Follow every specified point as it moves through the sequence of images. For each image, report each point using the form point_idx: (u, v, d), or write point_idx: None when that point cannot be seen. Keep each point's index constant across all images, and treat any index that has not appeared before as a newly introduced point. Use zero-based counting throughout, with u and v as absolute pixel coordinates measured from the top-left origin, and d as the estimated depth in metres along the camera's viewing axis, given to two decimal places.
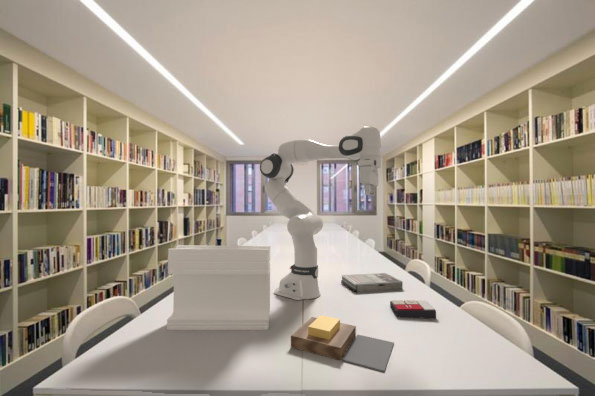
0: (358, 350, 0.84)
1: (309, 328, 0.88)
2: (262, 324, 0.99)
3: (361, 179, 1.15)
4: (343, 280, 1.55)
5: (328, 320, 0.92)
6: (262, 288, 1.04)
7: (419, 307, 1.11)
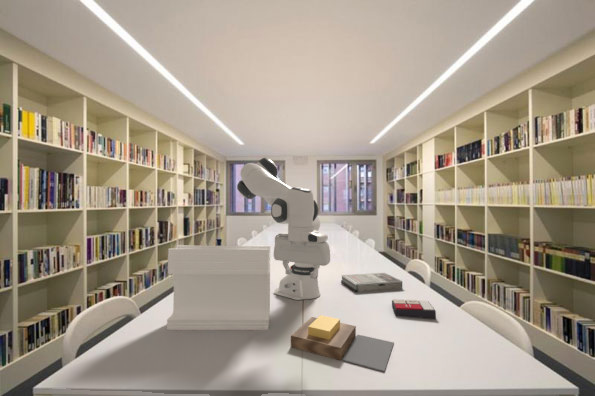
0: (358, 350, 0.84)
1: (309, 328, 0.88)
2: (262, 324, 0.99)
3: (326, 261, 0.90)
4: (343, 280, 1.55)
5: (328, 320, 0.92)
6: (262, 288, 1.04)
7: (419, 307, 1.12)
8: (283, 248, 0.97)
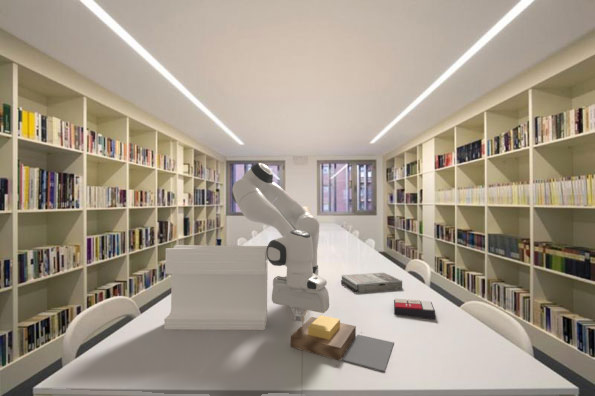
0: (358, 350, 0.84)
1: (309, 328, 0.88)
2: (259, 324, 0.99)
3: (325, 308, 0.89)
4: (343, 280, 1.55)
5: (328, 320, 0.92)
6: (259, 288, 1.04)
7: (418, 306, 1.12)
8: (281, 292, 0.96)
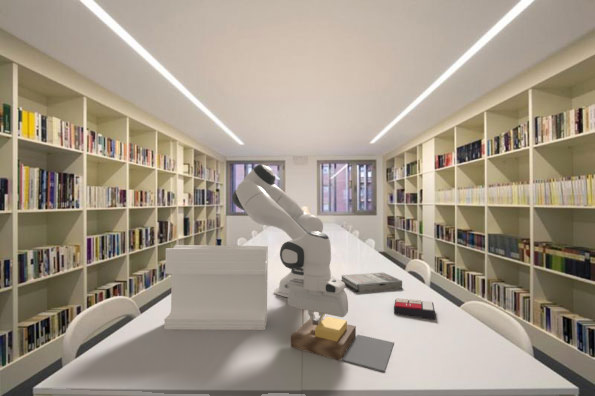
0: (358, 350, 0.84)
1: (316, 329, 0.87)
2: (259, 324, 0.99)
3: (345, 312, 0.86)
4: (343, 280, 1.55)
5: (335, 322, 0.91)
6: (259, 288, 1.04)
7: (418, 306, 1.12)
8: (298, 295, 0.93)
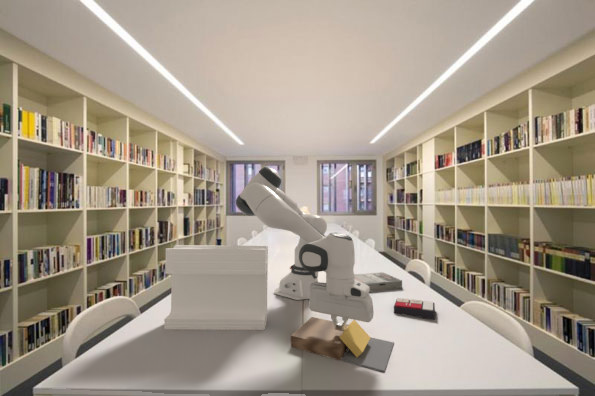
0: None
1: (344, 334, 0.82)
2: (259, 324, 0.99)
3: (371, 317, 0.82)
4: None
5: (361, 333, 0.87)
6: (259, 288, 1.04)
7: (418, 306, 1.12)
8: (320, 299, 0.90)
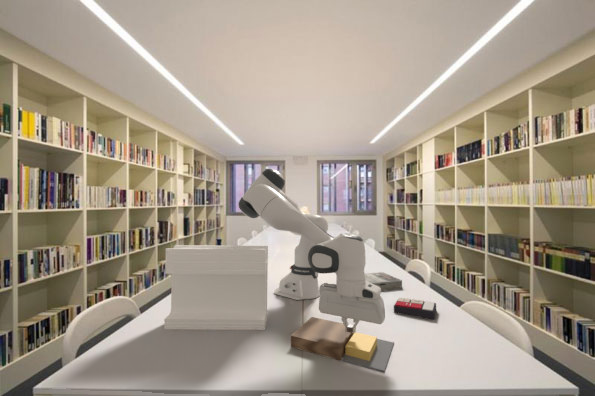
0: None
1: (346, 347, 0.82)
2: (259, 324, 0.99)
3: (383, 319, 0.81)
4: None
5: (365, 338, 0.87)
6: (259, 288, 1.04)
7: (418, 306, 1.12)
8: (330, 300, 0.88)
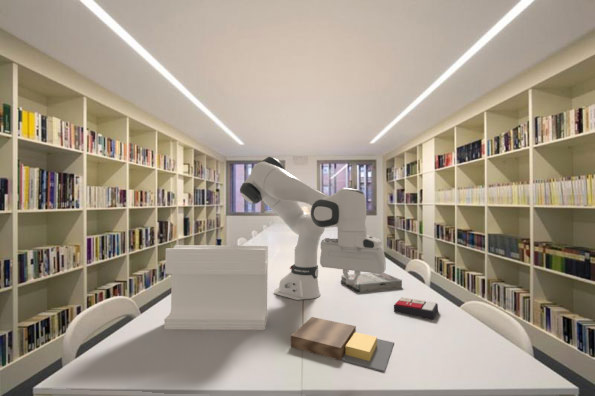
0: None
1: (346, 347, 0.82)
2: (259, 324, 0.99)
3: (384, 268, 0.82)
4: (343, 280, 1.55)
5: (365, 338, 0.87)
6: (259, 288, 1.04)
7: (418, 306, 1.13)
8: (331, 254, 0.89)
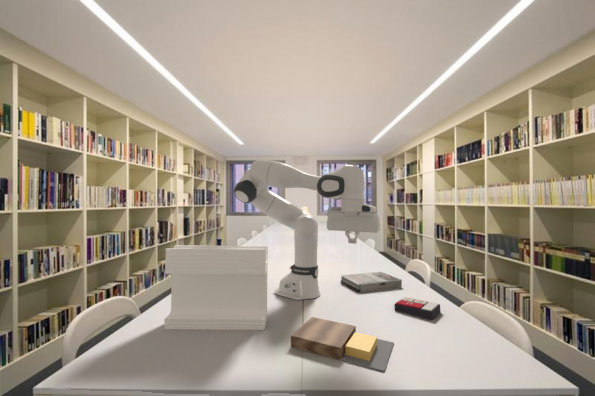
0: None
1: (346, 347, 0.82)
2: (259, 324, 0.99)
3: (378, 228, 1.03)
4: (343, 280, 1.55)
5: (365, 338, 0.87)
6: (259, 288, 1.04)
7: (418, 306, 1.13)
8: (336, 219, 1.10)
